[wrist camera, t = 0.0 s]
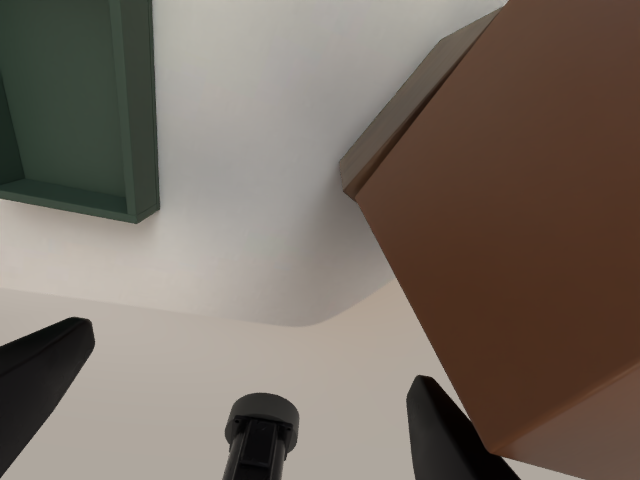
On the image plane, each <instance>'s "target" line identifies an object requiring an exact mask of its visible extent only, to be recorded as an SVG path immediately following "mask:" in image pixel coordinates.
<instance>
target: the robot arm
mask: <svg viewBox="0 0 640 480" xmlns="http://www.w3.org/2000/svg"><path fill="white" fill-rule="evenodd" d="M94 346H95V339H94V333H93V327H92V322H91V321H90V320H89V319H85V318H79V317H71V318H67V319H65V320H63V321H60V322H58V323H55V324H53V325H51V326H48V327H46V328H43V329H41V330H39V331H36V332H34V333H31V334H29V335H27V336H24V337H22V338H19V339H17V340H15V341H12V342H10V343H7V344H5V345H3V346H0V478H1V477H2V476H3V474H4V473H5V472H6V470H7V469H8V468H9V467H10V465H11V464H12V463H13V462H14V460H15V459H16V458H17V456H18V455H19V454H20V453H21V451H22V450H23V449H24V448H25V446H26V445H27V444H28V443H29V441H30V440H31V439H32V437H33V436H34V435H35V434H36V432H37V431H38V430H39V429H40V427H41V426H42V425H43V423H44V422H45V421H46V420H47V418H48V417H49V416H50V414H51V413H52V412H53V410H54V409H55V407H56V406H57V405H58V403H59V402H60V400H61V399H62V397H63V396H64V394H65V393H66V391H67V390H68V388H69V387H70V385H71V383H72V382H73V381H74V379H75V377H76V376H77V374H78V373H79V371H80V370H81V368H82V367H83V365H84V364H85V362H86V361H87V359H88V358H89V356H90V354H91V353H92V351H93V349H94ZM406 402H407V414H408V423H409V433H410V442H411V443H410V444H411V453H412V461H413V468H414V474H415V479H416V480H521V479H520V478H519V477H518V476H517V475H516V474H515V472H514V471H513V470H512V469H511V467H510V466H509V465H508V464H507V463H506V462H505V461H504V459H503V458H502V457H501V456H498V455H494V454H491V453H489V452H488V451H487V450H486V448H485V447H484V445H483V443H482V441H481V439H480V437H479V435H478V433H477V431H476V429H475V427H474V426H473V424H472V422H471V421H470V420H469V419H468V418H467V417H466V415H465V414H464V413H463V412H462V411H461V410H460V409H459V407H458V406H457V405H456V404H455V403H454V401H453V400H452V399H451V398H450V397H449V396H448V395H447V394H446V392H445V391H444V390H443V389H442V388H441V386H440V385H439V384H438V383H437V382H436V381H435V380H434V379H433V378H432V377H429V376H423V375H418V376H416V377H415V379H414V381H413V383H412V385H411V388H410V390H409V392H408V394H407V399H406ZM293 427H294V425H293V424H292V423H287V422H281V421H274V420H268V419H262V418H255V417H249V416H242V415H235V416H234V417H233V421H232V430H231V439H230V448H229V452H230V454H229V458H228V461H227V465H226V468H225V472H224V475H223V479H222V480H281V477H282V470H283V463H284V461H285V460H286V457H287V453H288V449H289V445H290V441H291V437H292V433H293Z"/></svg>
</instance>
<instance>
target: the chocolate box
mask: <svg viewBox="0 0 640 480" xmlns="http://www.w3.org/2000/svg"><path fill="white" fill-rule="evenodd" d="M355 199H356V201H357V203H358V205H359V207H360V209H361V211H362V213H363V215H364V217H365V218H366V220H367V222H368V224H369V226H370V228H371V230H372V232H373V234H374V236H375V238H376V240H377V241H378V243H379V245H380V247H381V249H382V251H383V253H384V255H385V257H386V259H387V261H388V263H389V264H390V266H391V268H392V270H393V272H394V274H395V276H396V278H397V280H398V282H399V284H400V286H401V287H402V289H403V291H404V293H405V295H406V297H407V299H408V301H409V303H410V305H411V306H412V308H413V310H414V312H415V314H416V316H417V318H418V320H419V322H420V324H421V326H422V328H423V329H424V332H425V333H426V335H427V337H428V339H429V341H430V343H431V345H432V347H433V349H434V351H435V353H436V355H437V357H438V358H439V360H440V362H441V364H442V366H443V368H444V370H445V372H446V374H447V376H448V377H449V380H450V381H451V383H452V385H453V387H454V389H455V391H456V393H457V395H458V397H459V399H460V400H461V403H462V404H463V406H464V408H465V410H466V412H467V414H468V416H469V418H470V420H471V422H472V424H473V426H474V427H475V429H476V431H477V433H478V435H479V437H480V439H481V441H482V443H483V445H484V447H485V448H486V450H487V451H488V452H489V453H491V454H494V455H498V456H502V457H505V458H509V459H513V460H516V461H520V462H524V463H527V464H531V465H535V466H538V467H542V468H545V469H549V470H553V471H556V472H560V473H564V474H567V475H571V476H574V477H578V478H582V479H585V480H640V0H509V1H508V2H507V3H506V5H505V6H504V7H503V8H502V10H501V11H500V12H499V14H498V15H497V16H496V17H495V19H494V20H493V21H492V22H491V24H490V25H489V26H488V28H487V29H486V30H485V31H484V33H483V34H482V35H481V37H480V38H479V39H478V40H477V42H476V43H475V44H474V45H473V47H472V48H471V49H470V51H469V52H468V53H467V54H466V56H465V57H464V58H463V60H462V61H461V62H460V63H459V65H458V66H457V67H456V68H455V70H454V71H453V72H452V74H451V75H450V76H449V77H448V79H447V80H446V81H445V83H444V84H443V85H442V86H441V88H440V89H439V90H438V91H437V93H436V94H435V95H434V97H433V98H432V99H431V100H430V102H429V103H428V104H427V106H426V107H425V108H424V109H423V111H422V112H421V113H420V114H419V116H418V117H417V118H416V120H415V121H414V122H413V123H412V125H411V126H410V127H409V129H408V130H407V131H406V132H405V134H404V135H403V136H402V137H401V139H400V140H399V141H398V143H397V144H396V145H395V146H394V148H393V149H392V150H391V152H390V153H389V154H388V155H387V157H386V158H385V159H384V160H383V162H382V163H381V164H380V166H379V167H378V168H377V169H376V171H375V172H374V173H373V175H372V176H371V177H370V178H369V180H368V181H367V182H366V183H365V185H364V186H363V187H362V189H361V190H360V191H359V192H358V194H357V195H356V196H355Z"/></svg>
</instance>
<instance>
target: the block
mask: <svg viewBox="0 0 640 480" xmlns="http://www.w3.org/2000/svg"><path fill="white" fill-rule="evenodd" d="M503 7H504V6H503ZM503 7H501V8H499V9H497V10H495V11H493V12H492V13H490V14H488V15H486V16H484V17H482V18H480V19H479V20H477V21H475V22H473V23H471V24H469V25H467V26H465V27H464V28H462V29H460V30H458V31H456V32H454V33H452V34H450V35H449V36H447V37H445V38H443V39H441V40H440V41H439V42H438V44H437V45H436V46H435V47H434V48H433V50H432V51H431V52H430V53H429V55H428V56H427V57H426V58H425V59H424V61H423V62H422V63H421V64H420V65H419V67H418V68H417V69H416V70H415V71H414V73H413V74H412V75H411V76H410V77H409V79H408V80H407V81H406V82H405V83H404V85H403V86H402V87H401V88H400V89H399V91H398V92H397V93H396V94H395V95H394V97H393V98H392V99H391V100H390V101H389V103H388V104H387V105H386V106H385V107H384V109H383V110H382V111H381V112H380V113H379V115H378V116H377V117H376V118H375V120H374V121H373V122H372V123H371V124H370V126H369V127H368V128H367V129H366V130H365V132H364V133H363V134H362V135H361V136H360V138H359V139H358V140H357V141H356V142H355V144H354V145H353V146H352V147H351V148H350V150H349V151H348V152H347V153H346V154H345V156H344V157H343V158H342V159H341V160H340V162H339V165H340V173H341V180H342V187H343V192H344V193H345V194H346V195H348V196H349V197H350V198H351V199H352V200H354V201H355V202H356V203H357V201H356V199H355V196H356V195H357V194H358V192H359V191H360V190H361V189H362V187H363V186H364V185H365V183H366V182H367V181H368V180H369V178H370V177H371V176H372V175H373V173H374V172H375V171H376V169H377V168H378V167H379V166H380V164H381V163H382V162H383V160H384V159H385V158H386V157H387V155H388V154H389V153H390V152H391V150H392V149H393V148H394V146H395V145H396V144H397V143H398V141H399V140H400V139H401V137H402V136H403V135H404V134H405V132H406V131H407V130H408V129H409V127H410V126H411V125H412V123H413V122H414V121H415V120H416V118H417V117H418V116H419V114H420V113H421V112H422V111H423V109H424V108H425V107H426V106H427V104H428V103H429V102H430V100H431V99H432V98H433V97H434V95H435V94H436V93H437V91H438V90H439V89H440V88H441V86H442V85H443V84H444V83H445V81H446V80H447V79H448V77H449V76H450V75H451V74H452V72H453V71H454V70H455V68H456V67H457V66H458V65H459V63H460V62H461V61H462V60H463V58H464V57H465V56H466V54H467V53H468V52H469V51H470V49H471V48H472V47H473V45H474V44H475V43H476V42H477V40H478V39H479V38H480V37H481V35H482V34H483V33H484V31H485V30H486V29H487V28H488V26H489V25H490V24H491V22H492V21H493V20H494V19H495V17H496V16H497V15H498V14H499V12H500V11H501V10H502V8H503ZM357 204H358V203H357Z"/></svg>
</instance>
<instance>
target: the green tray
mask: <svg viewBox="0 0 640 480" xmlns="http://www.w3.org/2000/svg"><path fill="white" fill-rule="evenodd" d="M0 199H6V200H11V201H16V202H22V203H27V204H33V205H38V206H43V207H49V208H54V209H59V210H65V211H70V212H75V213H81V214H86V215H91V216H97V217H102V218H107V219H113V220H118V221H124V222H129V223H134V224H138V223H139V222H141V221H142V220H144V219H145V218H147V217H149V216H150V215H152V214H153V213H155V212H156V211H158V210H159V209H160V203H159V177H158V152H157V127H156V101H155V76H154V51H153V26H152V0H0Z"/></svg>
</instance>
